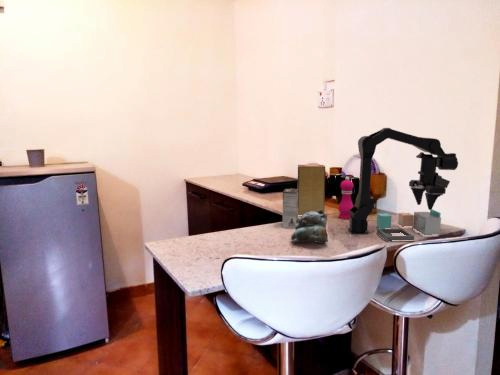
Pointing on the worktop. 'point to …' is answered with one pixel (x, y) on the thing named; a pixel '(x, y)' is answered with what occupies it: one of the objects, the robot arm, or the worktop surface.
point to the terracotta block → (405, 219)
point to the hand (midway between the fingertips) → (424, 207)
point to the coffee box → (290, 207)
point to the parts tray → (388, 236)
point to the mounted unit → (427, 222)
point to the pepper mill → (346, 199)
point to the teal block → (383, 221)
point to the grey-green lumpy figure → (311, 228)
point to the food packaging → (311, 188)
